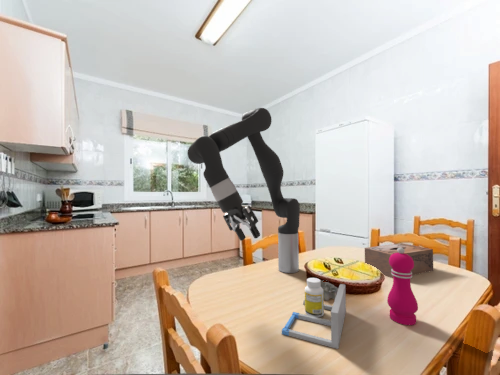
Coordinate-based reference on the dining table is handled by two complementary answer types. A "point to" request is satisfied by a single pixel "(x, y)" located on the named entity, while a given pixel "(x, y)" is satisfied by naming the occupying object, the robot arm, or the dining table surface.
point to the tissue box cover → (382, 253)
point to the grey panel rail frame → (323, 321)
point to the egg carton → (329, 290)
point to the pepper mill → (402, 289)
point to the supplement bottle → (314, 298)
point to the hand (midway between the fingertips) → (250, 238)
